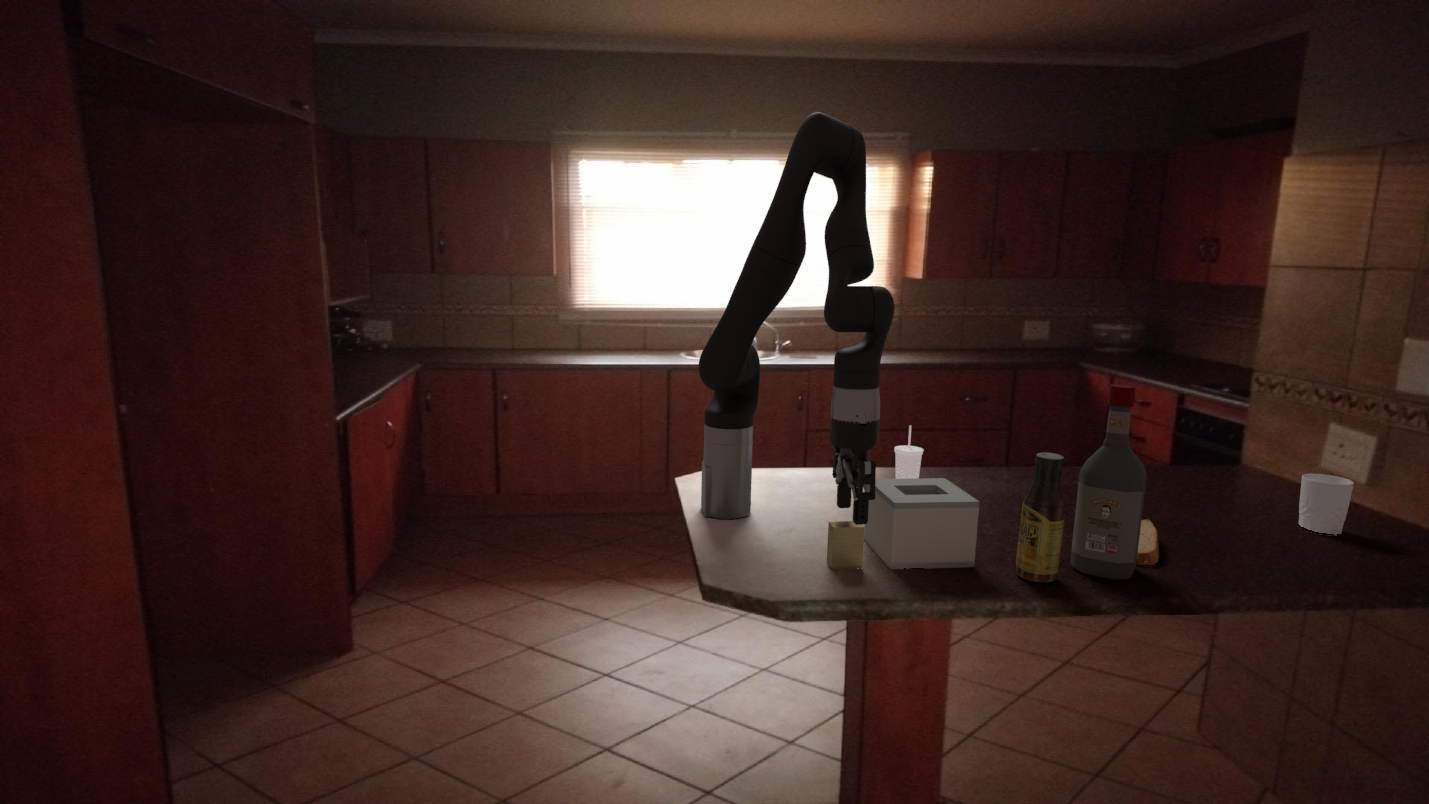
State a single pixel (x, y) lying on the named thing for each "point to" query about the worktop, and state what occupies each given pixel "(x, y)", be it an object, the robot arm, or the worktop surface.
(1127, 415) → the liquor
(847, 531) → the tall khaki box
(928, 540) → the grey box with opening
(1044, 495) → the sauce bottle
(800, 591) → the worktop surface
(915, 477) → the beverage cup
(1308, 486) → the white cup
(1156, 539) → the slice of bread
